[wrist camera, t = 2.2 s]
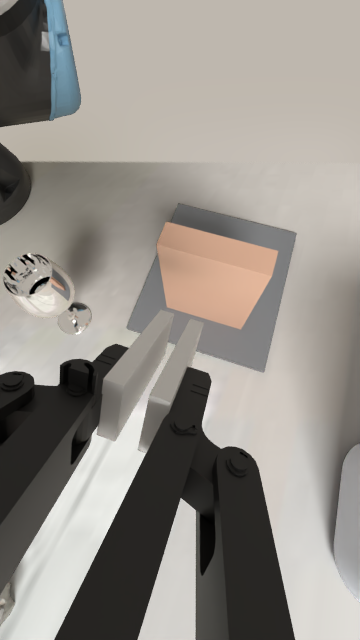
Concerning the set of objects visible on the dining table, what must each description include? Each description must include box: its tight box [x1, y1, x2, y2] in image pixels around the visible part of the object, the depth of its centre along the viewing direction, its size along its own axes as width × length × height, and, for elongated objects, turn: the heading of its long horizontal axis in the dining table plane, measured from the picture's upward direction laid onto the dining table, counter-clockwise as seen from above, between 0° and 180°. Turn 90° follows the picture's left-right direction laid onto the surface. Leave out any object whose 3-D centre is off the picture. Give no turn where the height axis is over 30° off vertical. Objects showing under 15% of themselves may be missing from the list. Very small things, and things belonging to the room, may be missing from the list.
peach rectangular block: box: [157, 222, 278, 330], centre depth 31 cm, size 3×10×14 cm, turn 72°
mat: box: [127, 203, 297, 372], centre depth 39 cm, size 21×18×1 cm
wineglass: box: [3, 253, 91, 335], centre depth 32 cm, size 6×6×12 cm
